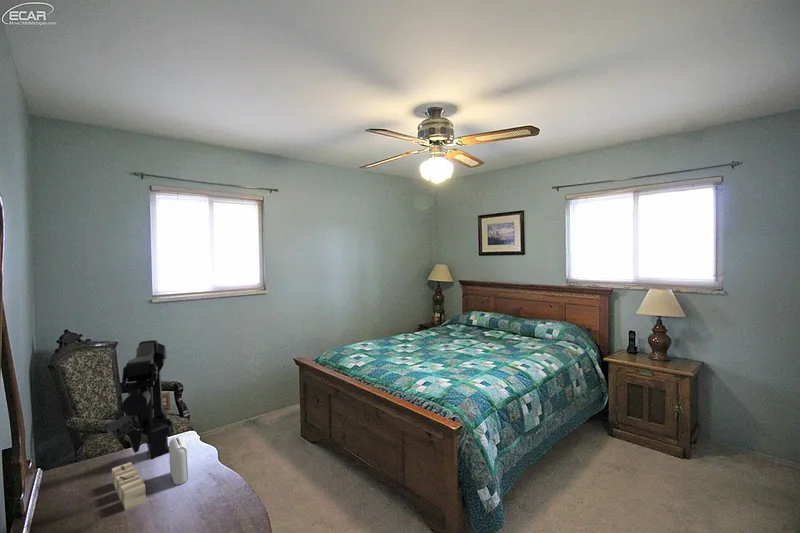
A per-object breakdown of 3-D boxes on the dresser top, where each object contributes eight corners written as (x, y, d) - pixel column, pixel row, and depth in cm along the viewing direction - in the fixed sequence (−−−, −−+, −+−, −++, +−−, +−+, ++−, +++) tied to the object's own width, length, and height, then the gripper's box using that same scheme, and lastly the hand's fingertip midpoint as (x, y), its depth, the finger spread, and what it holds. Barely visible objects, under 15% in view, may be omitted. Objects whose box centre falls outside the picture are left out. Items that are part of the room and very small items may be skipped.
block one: (112, 484, 120) (111, 468, 119) (131, 477, 123) (130, 461, 123) (115, 490, 116) (114, 474, 116) (135, 483, 120) (134, 467, 120)
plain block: (121, 503, 110) (120, 486, 110) (141, 494, 113) (141, 478, 113) (125, 510, 106) (124, 493, 106) (146, 502, 110) (145, 485, 110)
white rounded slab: (169, 473, 125) (167, 436, 124) (183, 468, 127) (181, 432, 127) (174, 487, 117) (172, 447, 116) (189, 481, 119) (187, 443, 119)
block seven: (116, 493, 115) (116, 476, 115) (136, 485, 118) (135, 469, 118) (120, 500, 111) (119, 483, 111) (140, 492, 115) (139, 475, 115)
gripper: (94, 407, 109) (97, 461, 109) (126, 419, 100) (129, 477, 100) (136, 395, 119) (139, 444, 119) (170, 404, 109) (172, 457, 110)
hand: (144, 455), depth 112 cm, fingers open, 9 cm apart
